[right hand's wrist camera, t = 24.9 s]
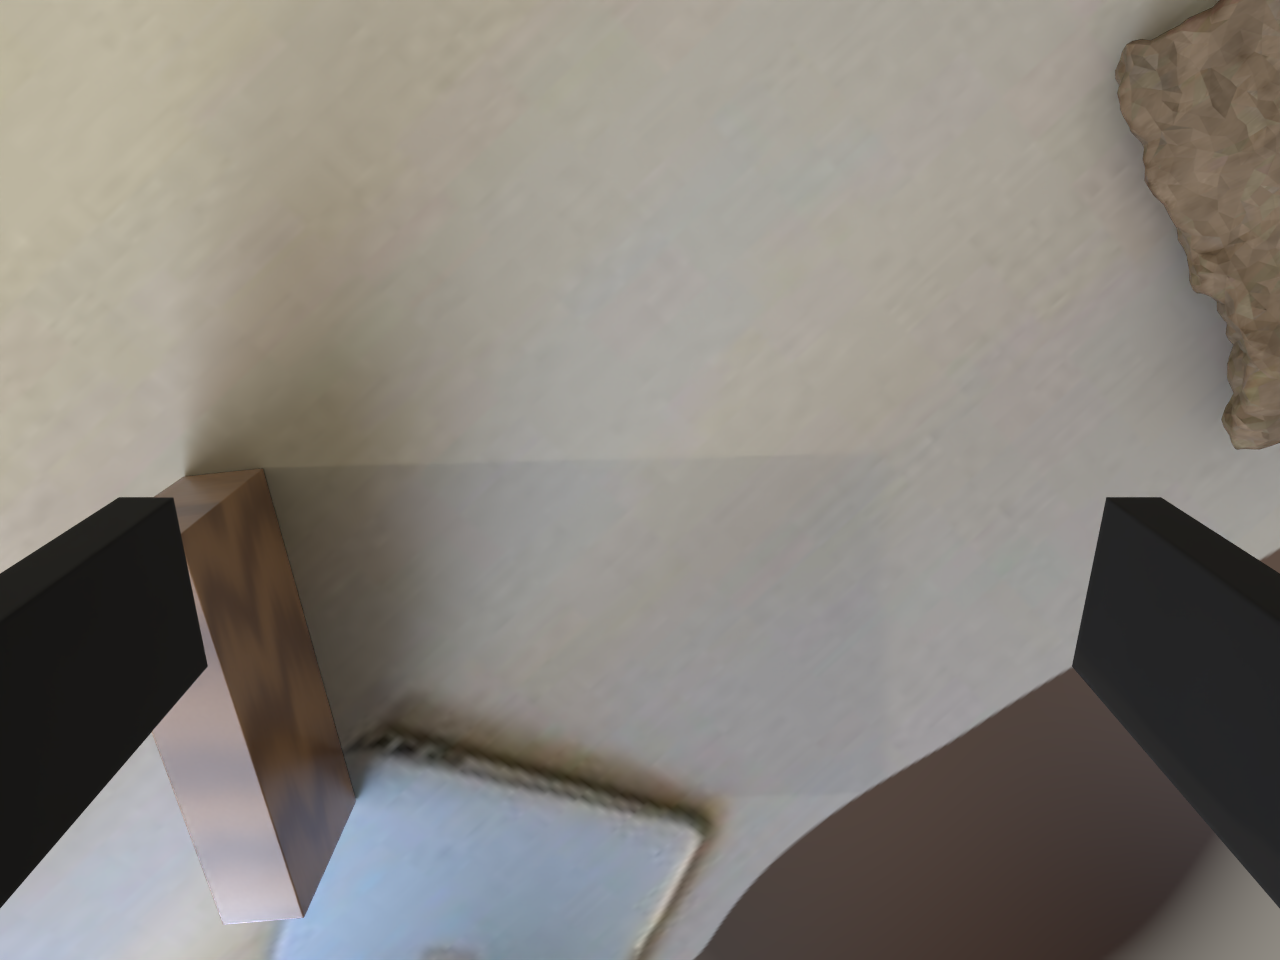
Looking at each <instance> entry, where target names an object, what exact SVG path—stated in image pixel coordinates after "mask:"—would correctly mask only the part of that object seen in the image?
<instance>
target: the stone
mask: <svg viewBox="0 0 1280 960" xmlns="http://www.w3.org/2000/svg"><path fill="white" fill-rule="evenodd" d="M1115 79H1116V80H1117V82H1118V84H1119V88H1118V92H1117V94H1118V98H1119V102H1120V109H1121V112H1122V114H1123V117H1124V119H1125V120H1126V122H1127V123H1128V125H1129V128H1130V131H1131V132H1132V133H1133V134H1134V136H1135V137H1136V138H1137V139H1138V140H1139V141H1141V142H1142V144H1143V147H1144V154H1143V162H1144V165H1145V182H1146V184H1147V185H1148V187H1149V189H1150V190H1151V192H1152V193H1153V195H1154V196H1155V197H1156V198H1157V199H1158V200H1159V201H1160V202H1162V203H1163V204H1164V206H1165V208H1166V210H1167V212H1168V214H1169V216H1170V218H1171V219H1172V221H1173V223H1174V224H1175V226H1176V228H1177V231H1178V241H1179V242H1180V244H1181V245H1182V247H1183V248H1184V250H1185V252H1186V255H1187V261H1188V266H1189V281H1190V283H1191V286H1192V288H1193V290H1194V291H1195V292H1196V293H1202V294H1206V295H1208V296H1211V297H1212V298H1213V299H1214V300H1216V301H1217V311H1218V313H1219V314H1220V315H1221V317H1222V318H1223V319H1224V321H1226V322H1227V328H1226V335H1227V337H1228V339H1229V341H1230V342H1231V343H1232V344H1233V348H1232V351H1231V353H1230V356H1229V361H1228V363H1227V379H1228V381H1229V384H1230V386H1231V388H1232V390H1233V392H1234V394H1233V396H1232V397H1231V399H1230V401H1229V403H1228V404H1227V406H1226V408H1225V410H1224V413H1223V416H1222V419H1221V420H1222V423H1223V426H1224V428H1225V429H1226V431H1227V432H1228V434H1229V435H1230V439H1231V442H1232V444H1233V446H1234V448H1235V449H1262V448H1265V447H1269V446H1272V445H1275V444H1277V443H1280V0H1220V1H1219V2H1218V3H1217V4H1216V5H1215V6H1214V7H1213V8H1211V9H1208V10H1206V11H1204V12H1202V13H1199V14H1197V15H1195V16H1192V17H1190V18H1188V19H1187V20H1186V21H1184V22H1183V23H1182V24H1181V25H1179V26H1177V27H1175V28H1173V29H1171V30H1169V31H1167V32H1166V33H1164V34H1162V35H1160V36H1158V37H1157V38H1155V39H1152V40H1144V39H1140V40H1135V41H1132V42H1130V43H1129V44H1127V45H1126V47H1125V48H1124V50H1123V51H1122V55H1121V59H1120V62H1119V64H1118V66H1117V68H1116V70H1115Z"/></svg>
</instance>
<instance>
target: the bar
mask: <svg viewBox="0 0 1280 960" xmlns="http://www.w3.org/2000/svg"><path fill="white" fill-rule="evenodd" d="M155 497H174V502H175V507H176V512H177V517H178V522H179V527H180V532H181V537H182V542H183V546H184V551H185V556H186V561H187V566H188V571H189V576H190V581H191V586H192V591H193V596H194V600H195V605H196V610H197V615H198V620H199V625H200V630H201V635H202V640H203V645H204V650H205V654H206V659H207V664H208V667H207V668H206V669H205V670H204V671H203V673H202V674H201V675H200V676H199V677H198V678H197V680H196V681H195V682H194V683H193V684H192V685H191V687H190V688H189V689H188V690H187V691H186V692H185V694H184V695H183V696H182V697H181V698H180V699H179V701H178V702H177V703H176V704H175V705H174V706H173V708H172V709H171V710H170V711H169V712H168V713H167V715H166V716H165V717H164V718H163V719H162V720H161V722H160V723H159V724H158V725H157V726H156V727H155V729H154V730H153V731H152V734H153V737H154V739H155V742H156V745H157V748H158V750H159V753H160V756H161V758H162V761H163V764H164V766H165V769H166V772H167V775H168V777H169V780H170V783H171V785H172V788H173V791H174V793H175V796H176V799H177V802H178V804H179V807H180V810H181V812H182V815H183V818H184V820H185V823H186V826H187V829H188V831H189V834H190V837H191V839H192V842H193V845H194V847H195V850H196V853H197V856H198V858H199V861H200V864H201V866H202V869H203V872H204V874H205V877H206V880H207V883H208V885H209V888H210V891H211V893H212V896H213V899H214V901H215V904H216V907H217V910H218V912H219V915H220V918H221V920H222V923H223V924H236V923H248V922H260V921H271V920H283V919H295V918H304V916H305V914H306V912H307V910H308V907H309V905H310V903H311V901H312V899H313V896H314V894H315V892H316V890H317V887H318V885H319V883H320V881H321V878H322V876H323V874H324V872H325V869H326V867H327V865H328V863H329V861H330V858H331V856H332V854H333V852H334V849H335V847H336V845H337V843H338V840H339V838H340V836H341V834H342V831H343V829H344V827H345V825H346V823H347V820H348V818H349V816H350V814H351V811H352V809H353V807H354V805H355V802H356V799H355V795H354V792H353V788H352V784H351V781H350V777H349V774H348V770H347V767H346V763H345V759H344V756H343V752H342V749H341V745H340V742H339V738H338V735H337V731H336V727H335V724H334V720H333V717H332V713H331V710H330V706H329V702H328V699H327V695H326V692H325V688H324V685H323V681H322V677H321V674H320V670H319V667H318V663H317V660H316V656H315V653H314V649H313V645H312V642H311V638H310V635H309V631H308V628H307V624H306V620H305V617H304V613H303V610H302V606H301V603H300V599H299V595H298V592H297V588H296V585H295V581H294V578H293V574H292V571H291V567H290V563H289V560H288V556H287V553H286V549H285V546H284V542H283V538H282V535H281V531H280V528H279V524H278V521H277V517H276V514H275V510H274V506H273V503H272V499H271V496H270V492H269V489H268V485H267V481H266V478H265V474H264V471H263V469H262V468H261V469H252V470H242V471H233V472H223V473H214V474H205V475H195V476H186V477H182V478H181V479H179V480H178V481H177V482H175V483H174V484H172V485H171V486H169V487H168V488H166V489H165V490H163V491H162V492H160V493H159V494H158V495H156V496H155Z"/></svg>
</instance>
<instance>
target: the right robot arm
mask: <svg viewBox="0 0 1280 960" xmlns="http://www.w3.org/2000/svg"><path fill="white" fill-rule="evenodd" d="M207 667H208V664H207V659H206V654H205V650H204V645H203V640H202V635H201V630H200V625H199V620H198V615H197V610H196V605H195V600H194V596H193V591H192V586H191V581H190V576H189V571H188V566H187V561H186V556H185V551H184V546H183V542H182V537H181V532H180V527H179V522H178V517H177V512H176V507H175V502H174V497H119V498H117V499H116V500H114V501H113V502H111V503H110V504H108V505H106V506H105V507H103V508H102V509H100V510H99V511H97V512H96V513H94V514H92V515H91V516H89V517H88V518H86V519H85V520H83V521H82V522H80V523H78V524H77V525H75V526H74V527H72V528H71V529H69V530H68V531H66V532H64V533H63V534H61V535H60V536H58V537H57V538H55V539H54V540H52V541H50V542H49V543H47V544H46V545H44V546H43V547H41V548H40V549H38V550H36V551H35V552H33V553H32V554H30V555H29V556H27V557H25V558H24V559H22V560H21V561H19V562H18V563H16V564H15V565H13V566H11V567H10V568H8V569H7V570H5V571H4V572H2V573H1V574H0V908H1V907H2V906H3V904H4V903H5V902H6V901H7V900H8V899H9V897H10V896H11V895H12V894H13V893H14V892H15V891H16V889H17V888H18V887H19V886H20V885H21V884H22V882H23V881H24V880H25V879H26V878H27V877H28V875H29V874H30V873H31V872H32V871H33V870H34V868H35V867H36V866H37V865H38V864H39V863H40V861H41V860H42V859H43V858H44V857H45V856H46V854H47V853H48V852H49V851H50V850H51V849H52V847H53V846H54V845H55V844H56V843H57V842H58V840H59V839H60V838H61V837H62V836H63V835H64V833H65V832H66V831H67V830H68V829H69V828H70V826H71V825H72V824H73V823H74V822H75V821H76V819H77V818H78V817H79V816H80V815H81V814H82V812H83V811H84V810H85V809H86V808H87V807H88V805H89V804H90V803H91V802H92V801H93V800H94V798H95V797H96V796H97V795H98V794H99V793H100V791H101V790H102V789H103V788H104V787H105V786H106V784H107V783H108V782H109V781H110V780H111V779H112V778H113V776H114V775H115V774H116V773H117V772H118V771H119V769H120V768H121V767H122V766H123V765H124V764H125V762H126V761H127V760H128V759H129V758H130V757H131V755H132V754H133V753H134V752H135V751H136V750H137V748H138V747H139V746H140V745H141V744H142V743H143V741H144V740H145V739H146V738H147V737H148V736H149V734H150V733H151V732H152V731H153V730H154V729H155V727H156V726H157V725H158V724H159V723H160V722H161V720H162V719H163V718H164V717H165V716H166V715H167V713H168V712H169V711H170V710H171V709H172V708H173V706H174V705H175V704H176V703H177V702H178V701H179V699H180V698H181V697H182V696H183V695H184V694H185V692H186V691H187V690H188V689H189V688H190V687H191V685H192V684H193V683H194V682H195V681H196V680H197V678H198V677H199V676H200V675H201V674H202V673H203V671H204V670H205V669H206V668H207ZM1072 667H1073V668H1074V669H1075V670H1076V672H1077V673H1078V674H1079V675H1080V676H1081V677H1082V678H1083V680H1084V681H1085V682H1086V683H1087V684H1088V685H1089V687H1090V688H1091V689H1092V690H1093V691H1094V692H1095V694H1096V695H1097V696H1098V697H1099V698H1100V699H1101V701H1102V702H1103V703H1104V704H1105V705H1106V706H1107V708H1108V709H1109V710H1110V711H1111V712H1112V713H1113V715H1114V716H1115V717H1116V718H1117V719H1118V720H1119V722H1120V723H1121V724H1122V725H1123V726H1124V727H1125V729H1126V730H1127V731H1128V732H1129V733H1130V734H1131V736H1132V737H1133V738H1134V739H1135V740H1136V741H1137V743H1138V744H1139V745H1140V746H1141V747H1142V748H1143V750H1144V751H1145V752H1146V753H1147V754H1148V755H1149V757H1150V758H1151V759H1152V760H1153V761H1154V762H1155V763H1156V765H1157V766H1158V767H1159V768H1160V769H1161V771H1162V772H1163V773H1164V774H1165V775H1166V776H1167V777H1168V779H1169V780H1170V781H1171V782H1172V783H1173V784H1174V786H1175V787H1176V788H1177V789H1178V790H1179V791H1180V793H1181V794H1182V795H1183V796H1184V797H1185V798H1186V800H1187V801H1188V802H1189V803H1190V804H1191V805H1192V807H1193V808H1194V809H1195V810H1196V811H1197V812H1198V814H1199V815H1200V816H1201V817H1202V818H1203V819H1204V821H1205V822H1206V823H1207V824H1208V825H1209V826H1210V828H1211V829H1212V830H1213V831H1214V832H1215V833H1216V835H1217V836H1218V837H1219V838H1220V839H1221V840H1222V842H1223V843H1224V844H1225V845H1226V846H1227V847H1228V849H1229V850H1230V851H1231V852H1232V853H1233V854H1234V856H1235V857H1236V858H1237V859H1238V860H1239V861H1240V862H1241V864H1242V865H1243V866H1244V867H1245V868H1246V870H1247V871H1248V872H1249V873H1250V874H1251V875H1252V877H1253V878H1254V879H1255V880H1256V881H1257V882H1258V883H1259V885H1260V886H1261V887H1262V888H1263V889H1264V891H1265V892H1266V893H1267V894H1268V895H1269V896H1270V897H1271V899H1272V900H1273V901H1274V902H1275V903H1276V904H1277V906H1278V907H1279V908H1280V574H1279V573H1278V572H1276V571H1275V570H1273V569H1272V568H1270V567H1269V566H1267V565H1265V564H1264V563H1262V562H1261V561H1259V560H1258V559H1256V558H1255V557H1253V556H1251V555H1250V554H1248V553H1247V552H1245V551H1244V550H1242V549H1240V548H1239V547H1237V546H1236V545H1234V544H1233V543H1231V542H1230V541H1228V540H1226V539H1225V538H1223V537H1222V536H1220V535H1219V534H1217V533H1216V532H1214V531H1212V530H1211V529H1209V528H1208V527H1206V526H1205V525H1203V524H1202V523H1200V522H1198V521H1197V520H1195V519H1194V518H1192V517H1191V516H1189V515H1188V514H1186V513H1184V512H1183V511H1181V510H1180V509H1178V508H1177V507H1175V506H1174V505H1172V504H1170V503H1169V502H1167V501H1166V500H1164V499H1163V498H1161V497H1106V502H1105V507H1104V512H1103V517H1102V522H1101V527H1100V532H1099V537H1098V542H1097V546H1096V551H1095V556H1094V561H1093V566H1092V571H1091V576H1090V581H1089V586H1088V591H1087V596H1086V600H1085V605H1084V610H1083V615H1082V620H1081V625H1080V630H1079V635H1078V640H1077V645H1076V650H1075V654H1074V659H1073V664H1072Z"/></svg>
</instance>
